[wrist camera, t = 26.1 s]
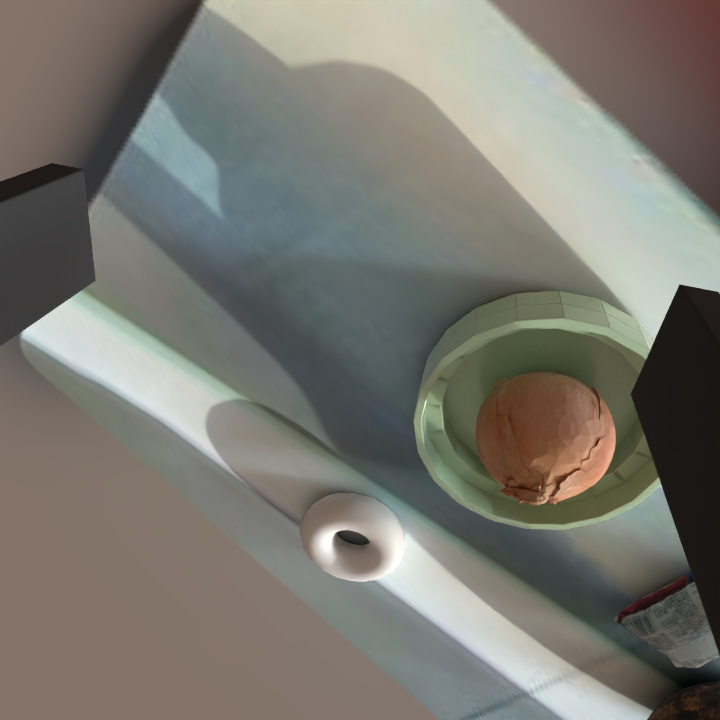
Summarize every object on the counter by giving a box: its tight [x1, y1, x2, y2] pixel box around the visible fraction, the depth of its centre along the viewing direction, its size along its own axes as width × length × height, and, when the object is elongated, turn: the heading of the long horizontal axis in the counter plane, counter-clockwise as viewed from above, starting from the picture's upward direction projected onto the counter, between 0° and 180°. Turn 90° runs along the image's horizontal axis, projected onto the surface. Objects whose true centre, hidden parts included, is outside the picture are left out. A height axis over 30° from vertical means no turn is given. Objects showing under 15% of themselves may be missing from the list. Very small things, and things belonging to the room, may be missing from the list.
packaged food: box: [614, 572, 720, 668], centre depth 52 cm, size 9×12×5 cm
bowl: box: [413, 290, 661, 530], centre depth 45 cm, size 18×18×5 cm
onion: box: [475, 369, 616, 505], centre depth 43 cm, size 10×9×10 cm
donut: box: [300, 492, 406, 582], centre depth 56 cm, size 10×4×10 cm
